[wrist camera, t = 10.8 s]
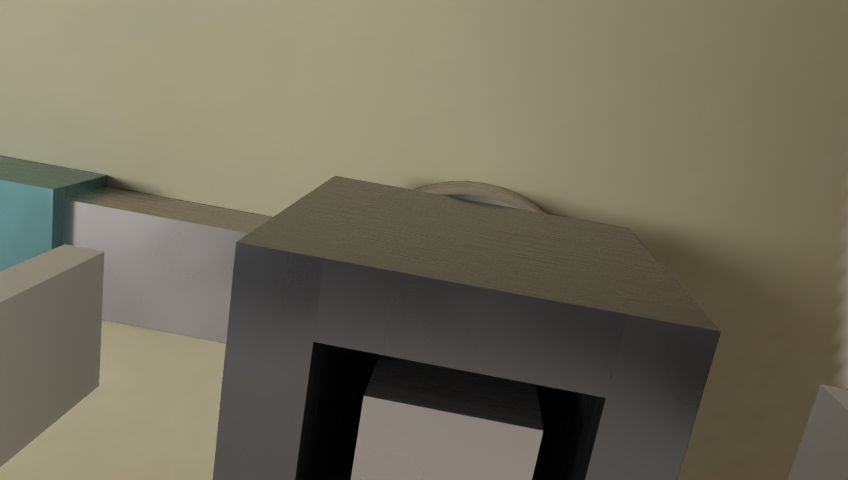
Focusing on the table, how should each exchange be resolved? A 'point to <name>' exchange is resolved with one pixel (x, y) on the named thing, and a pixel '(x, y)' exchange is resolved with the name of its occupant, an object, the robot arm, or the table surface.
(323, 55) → the table surface
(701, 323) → the socket
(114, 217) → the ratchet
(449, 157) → the table surface
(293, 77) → the table surface
